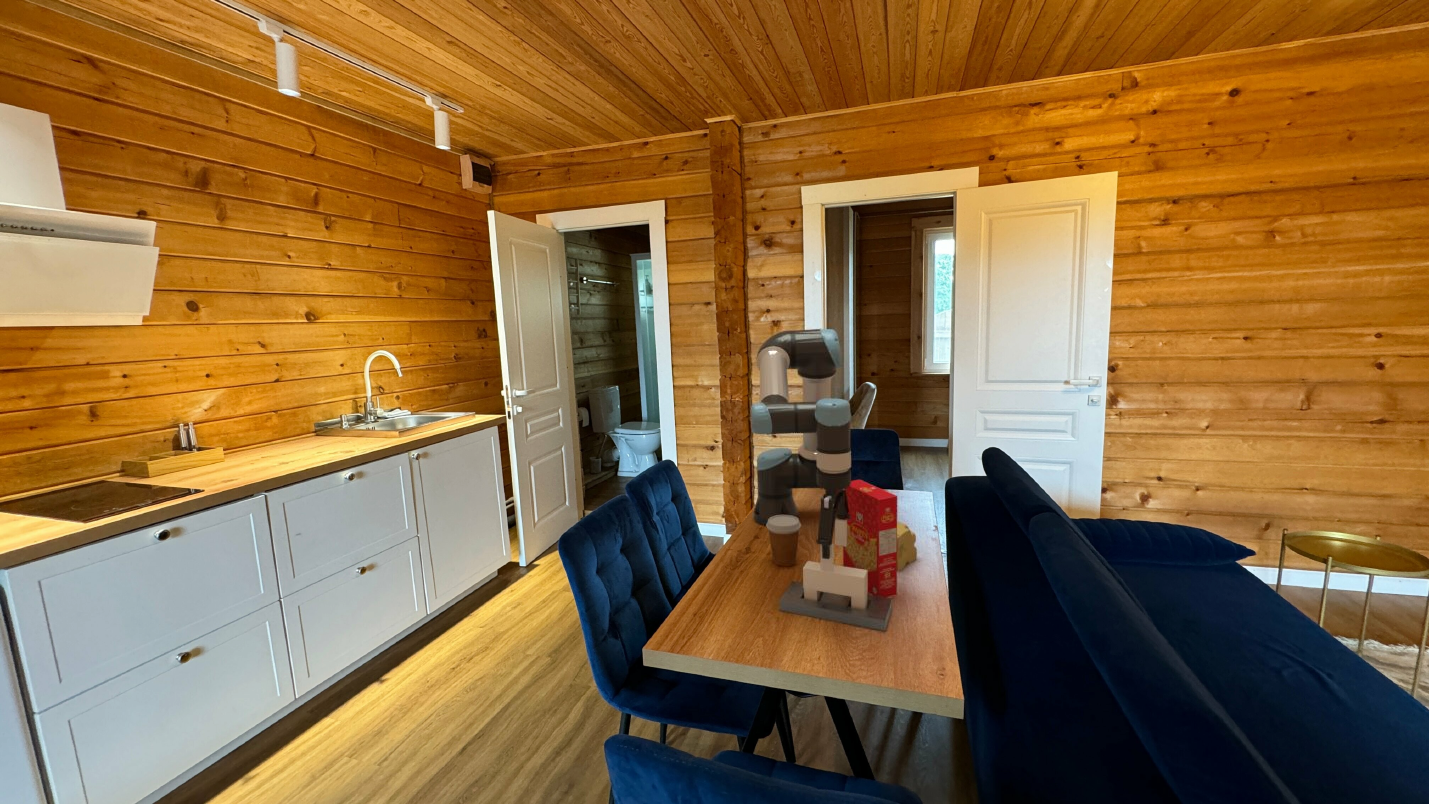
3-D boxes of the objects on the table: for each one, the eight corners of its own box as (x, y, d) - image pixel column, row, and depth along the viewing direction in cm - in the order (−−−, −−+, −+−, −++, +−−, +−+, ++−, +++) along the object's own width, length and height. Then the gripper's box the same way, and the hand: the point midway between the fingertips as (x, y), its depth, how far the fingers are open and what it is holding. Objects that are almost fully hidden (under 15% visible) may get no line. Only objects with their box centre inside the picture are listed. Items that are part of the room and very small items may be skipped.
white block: (803, 607, 130) (802, 568, 129) (808, 599, 134) (807, 560, 132) (864, 619, 124) (864, 577, 123) (867, 610, 128) (867, 570, 126)
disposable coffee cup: (800, 569, 150) (799, 527, 148) (765, 568, 151) (764, 526, 150) (802, 554, 159) (801, 514, 157) (769, 553, 161) (768, 513, 159)
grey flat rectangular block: (779, 610, 130) (779, 600, 129) (792, 590, 139) (792, 581, 138) (885, 631, 120) (885, 620, 119) (892, 608, 128) (892, 598, 128)
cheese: (917, 559, 152) (917, 525, 151) (898, 573, 145) (898, 537, 143) (882, 549, 160) (882, 516, 158) (862, 562, 152) (862, 527, 151)
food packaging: (843, 573, 146) (842, 482, 142) (860, 569, 148) (859, 479, 144) (878, 599, 133) (878, 499, 129) (896, 594, 134) (897, 495, 130)
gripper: (830, 452, 136) (831, 533, 140) (801, 484, 114) (803, 579, 118) (861, 455, 133) (861, 538, 137) (837, 487, 111) (838, 585, 115)
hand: (834, 557), depth 127 cm, fingers open, 13 cm apart
